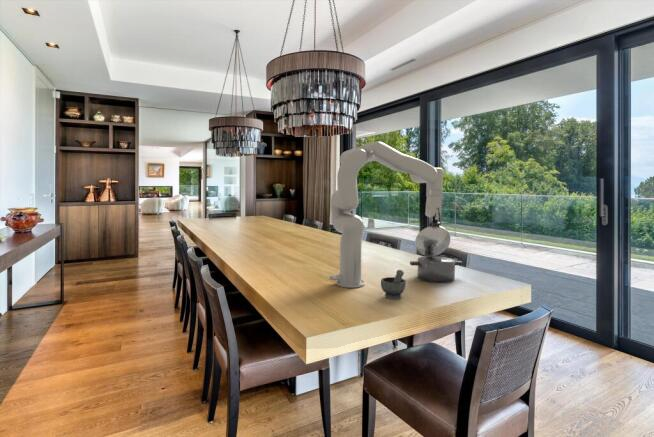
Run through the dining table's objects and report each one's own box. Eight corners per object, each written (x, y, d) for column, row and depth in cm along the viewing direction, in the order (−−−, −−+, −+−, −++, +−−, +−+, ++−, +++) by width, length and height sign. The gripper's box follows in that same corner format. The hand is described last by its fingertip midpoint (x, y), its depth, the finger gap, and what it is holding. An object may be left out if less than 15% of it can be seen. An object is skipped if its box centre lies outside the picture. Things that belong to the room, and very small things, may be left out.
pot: (415, 283, 162) (416, 263, 161) (405, 273, 180) (405, 255, 179) (468, 282, 163) (469, 263, 162) (452, 273, 181) (453, 255, 180)
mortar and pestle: (376, 294, 144) (377, 265, 143) (397, 292, 148) (397, 264, 146) (390, 303, 134) (391, 272, 133) (412, 300, 137) (412, 270, 136)
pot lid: (419, 223, 169) (417, 220, 171) (413, 256, 178) (412, 253, 181) (454, 223, 170) (452, 220, 172) (446, 256, 179) (445, 252, 181)
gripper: (421, 193, 180) (420, 229, 181) (432, 193, 165) (430, 233, 166) (436, 193, 180) (435, 229, 182) (447, 193, 165) (446, 233, 167)
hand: (433, 231), depth 174 cm, fingers closed
